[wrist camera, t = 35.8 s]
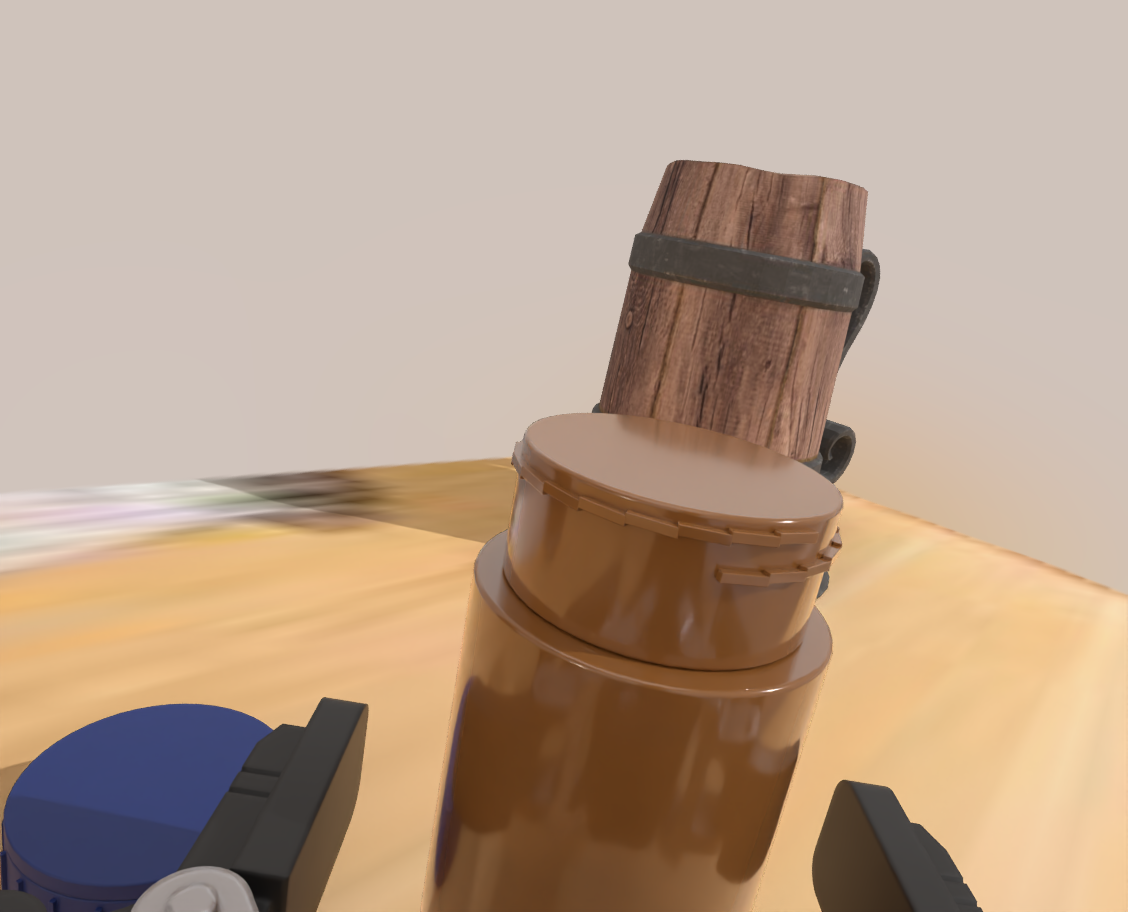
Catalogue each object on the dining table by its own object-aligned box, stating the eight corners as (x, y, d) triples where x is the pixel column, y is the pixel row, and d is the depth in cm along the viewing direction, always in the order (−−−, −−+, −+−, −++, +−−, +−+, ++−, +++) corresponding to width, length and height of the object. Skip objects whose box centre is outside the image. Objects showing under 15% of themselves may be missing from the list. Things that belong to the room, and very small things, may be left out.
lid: (296, 770, 22) (302, 701, 21) (277, 962, 16) (286, 876, 16) (58, 778, 20) (57, 702, 19) (-50, 994, 14) (-56, 900, 14)
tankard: (695, 638, 33) (820, 147, 27) (479, 496, 45) (535, 134, 39) (936, 562, 48) (1048, 236, 43) (727, 470, 60) (793, 207, 55)
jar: (354, 1037, 15) (439, 398, 11) (578, 951, 18) (706, 411, 14) (449, 1385, 11) (633, 546, 7) (726, 1204, 13) (963, 525, 10)
